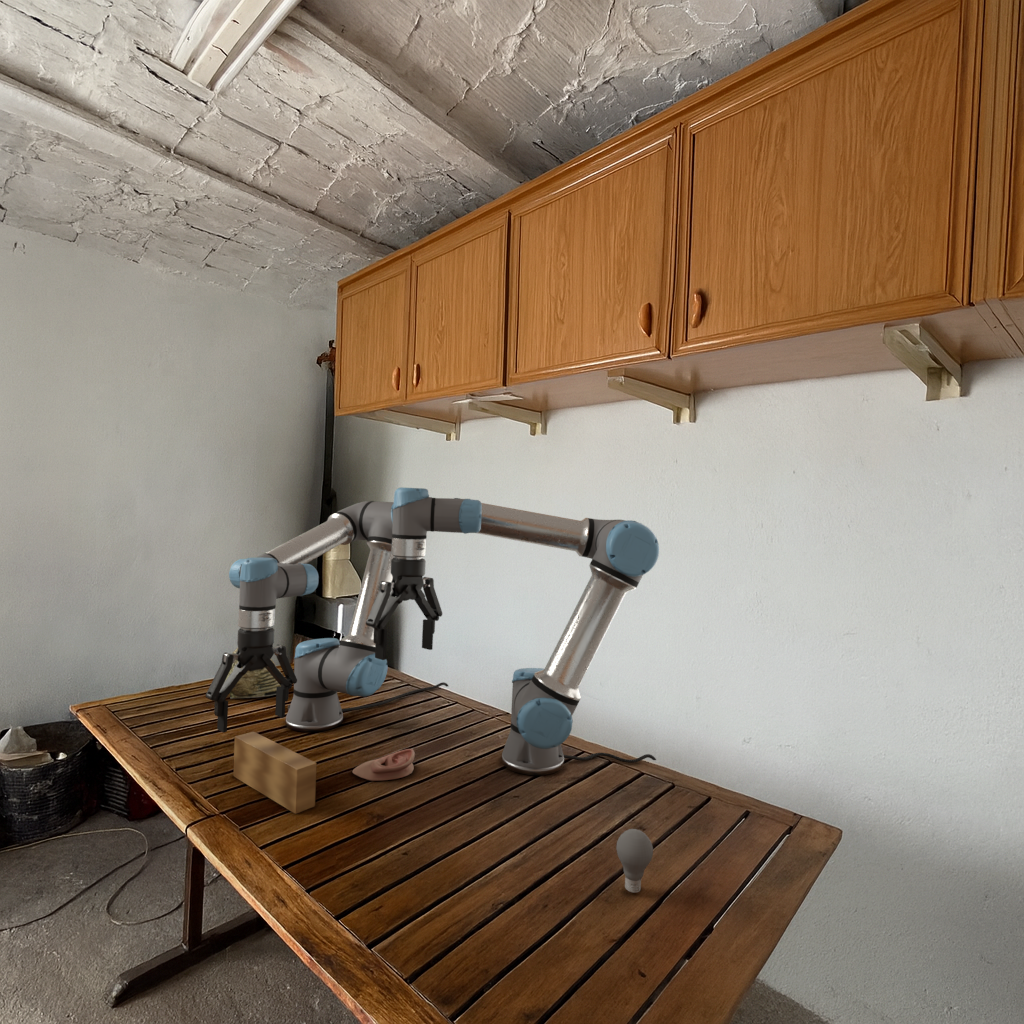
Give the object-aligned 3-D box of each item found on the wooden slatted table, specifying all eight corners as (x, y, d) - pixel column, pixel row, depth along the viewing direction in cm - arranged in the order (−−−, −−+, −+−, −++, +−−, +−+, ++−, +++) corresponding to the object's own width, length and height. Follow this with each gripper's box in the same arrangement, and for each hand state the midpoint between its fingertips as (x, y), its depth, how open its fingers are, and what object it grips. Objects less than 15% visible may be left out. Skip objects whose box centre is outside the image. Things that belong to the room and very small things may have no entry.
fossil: (218, 695, 195) (220, 647, 195) (278, 685, 208) (279, 640, 207) (228, 703, 189) (230, 653, 188) (289, 692, 201) (290, 645, 201)
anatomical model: (346, 759, 143) (368, 741, 154) (346, 777, 143) (367, 757, 154) (402, 767, 140) (420, 748, 152) (401, 785, 140) (419, 764, 152)
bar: (233, 776, 142) (234, 736, 141) (252, 770, 145) (253, 731, 145) (295, 814, 126) (297, 769, 126) (314, 806, 130) (316, 762, 130)
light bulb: (610, 879, 108) (613, 822, 108) (644, 879, 109) (647, 822, 109) (619, 902, 102) (622, 840, 102) (655, 901, 103) (658, 840, 103)
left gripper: (208, 637, 128) (203, 742, 128) (315, 623, 148) (310, 714, 148) (191, 631, 133) (186, 732, 133) (296, 619, 152) (292, 706, 153)
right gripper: (374, 562, 127) (370, 666, 128) (459, 556, 147) (456, 647, 147) (351, 558, 132) (347, 659, 132) (437, 553, 152) (433, 642, 152)
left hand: (252, 723), depth 141 cm, fingers open, 13 cm apart
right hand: (404, 653), depth 140 cm, fingers open, 13 cm apart
